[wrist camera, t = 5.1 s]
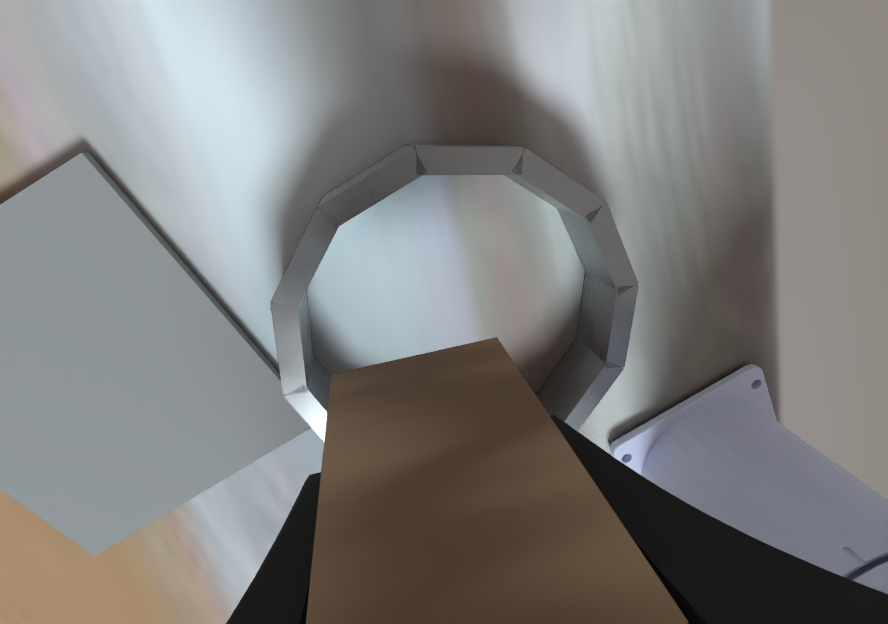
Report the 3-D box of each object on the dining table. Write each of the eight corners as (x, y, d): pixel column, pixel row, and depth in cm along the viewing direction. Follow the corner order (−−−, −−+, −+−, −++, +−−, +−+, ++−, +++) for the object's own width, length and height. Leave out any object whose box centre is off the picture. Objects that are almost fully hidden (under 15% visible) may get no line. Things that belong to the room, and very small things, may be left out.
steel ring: (639, 349, 21) (675, 377, 18) (399, 489, 21) (404, 533, 19) (522, 72, 16) (551, 62, 13) (211, 264, 16) (187, 287, 14)
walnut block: (497, 337, 11) (688, 622, 5) (512, 466, 13) (673, 812, 6) (331, 374, 11) (293, 742, 4) (368, 502, 12) (382, 913, 6)
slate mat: (318, 417, 19) (317, 423, 19) (98, 548, 20) (93, 556, 19) (88, 152, 14) (81, 152, 14) (-195, 333, 15) (-210, 338, 14)
